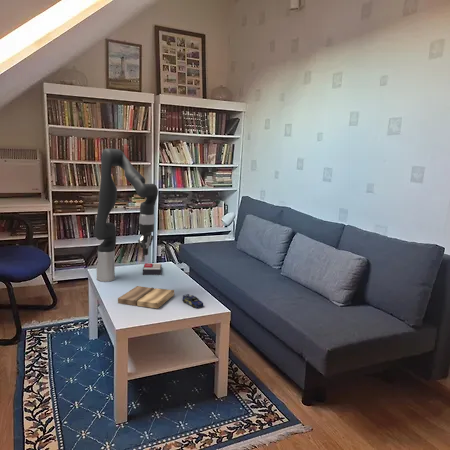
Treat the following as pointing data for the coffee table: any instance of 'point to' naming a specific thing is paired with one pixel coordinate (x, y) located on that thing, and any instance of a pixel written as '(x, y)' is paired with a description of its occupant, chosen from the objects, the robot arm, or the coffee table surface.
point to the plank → (155, 298)
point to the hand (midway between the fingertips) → (145, 254)
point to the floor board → (134, 295)
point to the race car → (192, 301)
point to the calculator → (152, 269)
